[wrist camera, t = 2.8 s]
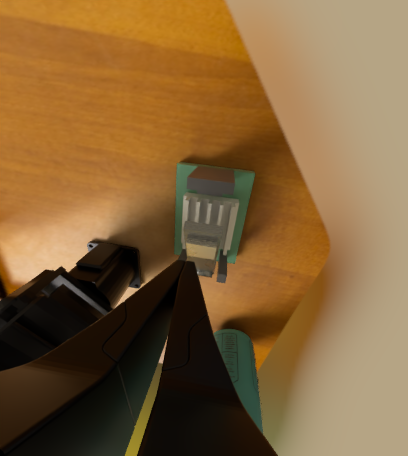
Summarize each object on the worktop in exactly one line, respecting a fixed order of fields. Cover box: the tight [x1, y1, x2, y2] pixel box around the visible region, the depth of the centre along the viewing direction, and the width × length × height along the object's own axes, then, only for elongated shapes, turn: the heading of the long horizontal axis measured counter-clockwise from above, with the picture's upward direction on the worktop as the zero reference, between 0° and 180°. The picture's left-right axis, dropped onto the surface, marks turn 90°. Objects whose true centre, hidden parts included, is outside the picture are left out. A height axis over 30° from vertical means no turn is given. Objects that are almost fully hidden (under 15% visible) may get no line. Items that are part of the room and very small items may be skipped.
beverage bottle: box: [214, 329, 263, 434], centre depth 19 cm, size 6×7×20 cm
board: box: [174, 162, 255, 283], centre depth 17 cm, size 10×7×6 cm
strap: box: [183, 221, 223, 278], centre depth 15 cm, size 8×2×1 cm, turn 174°
